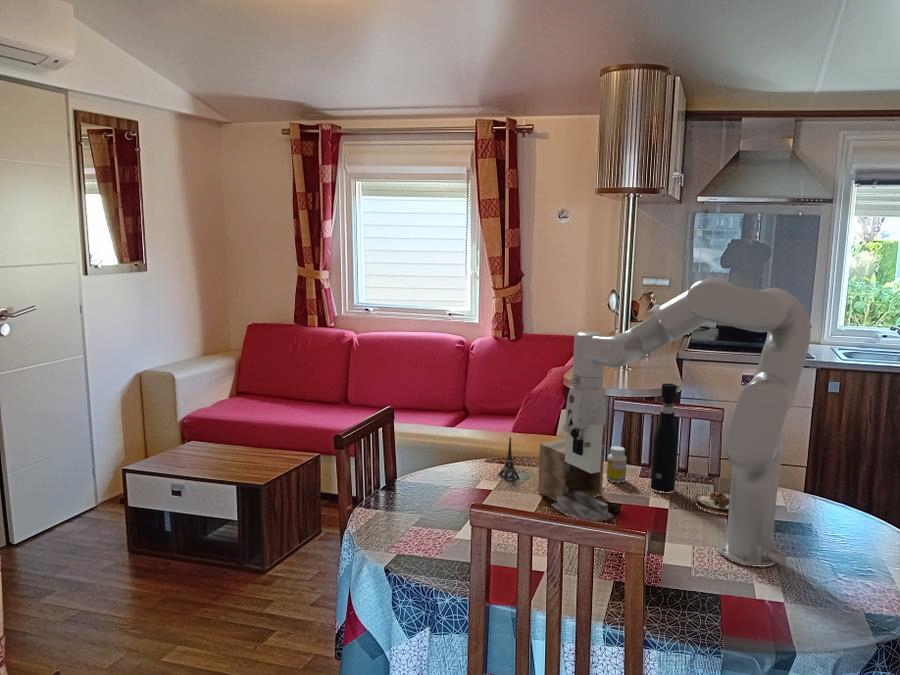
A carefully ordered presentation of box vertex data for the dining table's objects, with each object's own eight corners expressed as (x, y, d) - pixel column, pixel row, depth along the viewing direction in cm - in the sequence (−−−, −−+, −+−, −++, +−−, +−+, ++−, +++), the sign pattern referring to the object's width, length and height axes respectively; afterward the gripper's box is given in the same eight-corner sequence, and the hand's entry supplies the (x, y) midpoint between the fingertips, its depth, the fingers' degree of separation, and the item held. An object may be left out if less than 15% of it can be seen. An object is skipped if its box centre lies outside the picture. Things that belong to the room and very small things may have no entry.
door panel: (600, 471, 179) (603, 425, 177) (588, 474, 177) (590, 427, 175) (573, 459, 187) (576, 415, 185) (561, 462, 185) (564, 416, 183)
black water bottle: (671, 486, 204) (678, 382, 199) (676, 494, 198) (683, 388, 193) (648, 485, 205) (655, 381, 200) (652, 493, 198) (659, 387, 194)
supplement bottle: (624, 484, 205) (626, 452, 203) (605, 482, 207) (606, 449, 205) (626, 478, 210) (628, 446, 208) (607, 476, 212) (609, 444, 210)
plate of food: (762, 517, 185) (764, 501, 184) (711, 522, 181) (712, 506, 180) (726, 496, 199) (728, 481, 198) (678, 500, 195) (679, 485, 194)
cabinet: (636, 512, 185) (640, 459, 183) (585, 525, 176) (587, 471, 174) (577, 484, 205) (579, 436, 202) (528, 495, 196) (529, 445, 193)
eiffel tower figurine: (514, 490, 200) (516, 444, 198) (482, 483, 205) (483, 438, 203) (536, 474, 213) (538, 431, 211) (505, 468, 218) (507, 425, 216)
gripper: (572, 388, 171) (567, 462, 174) (622, 381, 180) (617, 452, 183) (551, 381, 178) (548, 453, 181) (601, 375, 186) (597, 444, 189)
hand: (583, 452), depth 182 cm, fingers closed on door panel, 3 cm apart
